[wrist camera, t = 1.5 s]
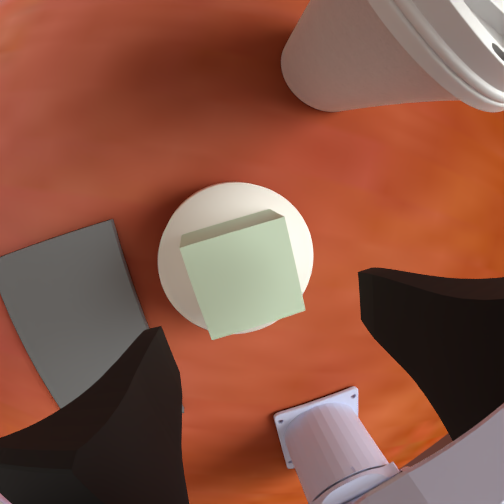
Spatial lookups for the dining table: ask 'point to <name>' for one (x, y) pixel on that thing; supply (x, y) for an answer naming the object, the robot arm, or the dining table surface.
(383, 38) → the coffee cup
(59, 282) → the mat
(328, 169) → the dining table surface
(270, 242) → the pale green square block
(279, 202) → the white shallow dome
